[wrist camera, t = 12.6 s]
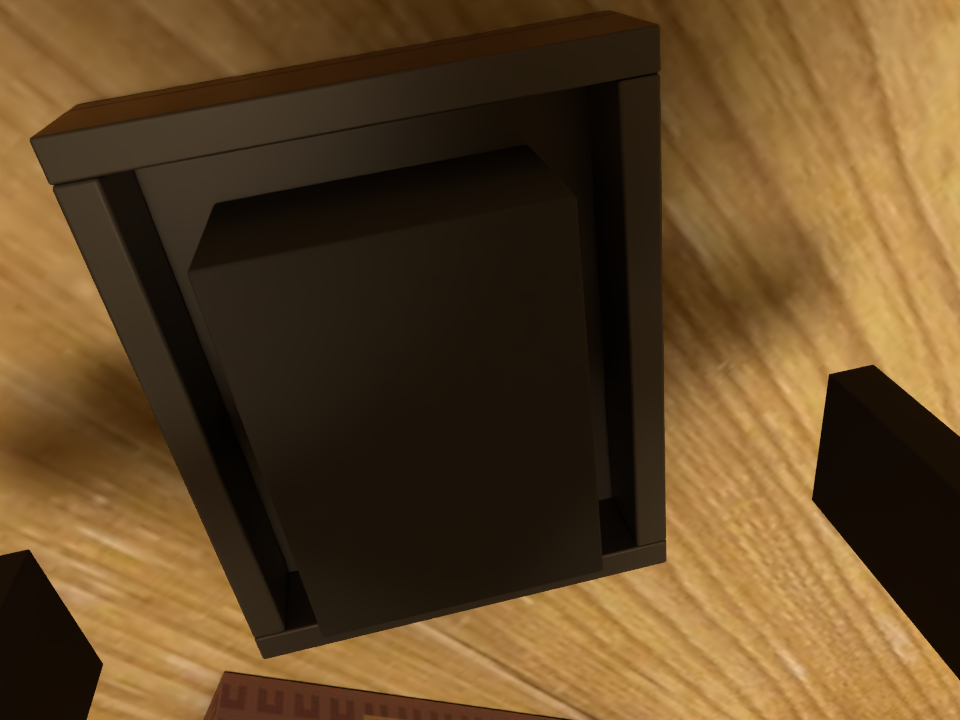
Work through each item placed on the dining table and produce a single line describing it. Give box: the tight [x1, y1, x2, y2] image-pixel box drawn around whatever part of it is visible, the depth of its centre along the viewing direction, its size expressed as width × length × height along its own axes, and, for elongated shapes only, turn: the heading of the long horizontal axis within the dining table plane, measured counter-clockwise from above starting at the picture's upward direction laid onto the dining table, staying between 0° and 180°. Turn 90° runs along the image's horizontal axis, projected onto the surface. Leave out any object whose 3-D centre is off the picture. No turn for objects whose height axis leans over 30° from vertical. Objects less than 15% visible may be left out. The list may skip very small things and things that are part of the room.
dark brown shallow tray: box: [30, 10, 666, 659], centre depth 17 cm, size 13×11×3 cm
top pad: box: [187, 145, 603, 637], centre depth 16 cm, size 9×6×4 cm
